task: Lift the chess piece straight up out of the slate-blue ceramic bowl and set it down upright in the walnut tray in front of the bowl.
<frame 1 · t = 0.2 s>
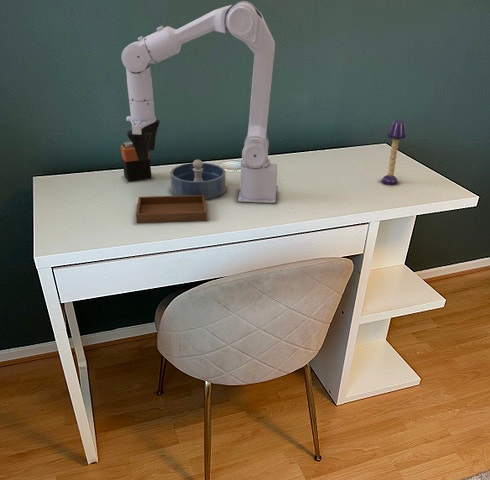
hand: (146, 154, 126), 10 cm above the table, tool pointing down, fingers open, 7 cm apart
chess piece: (198, 189, 133), resting on bowl
toy lamp: (388, 182, 141), on the table
battery: (138, 178, 140), on the table
tray: (172, 212, 121), on the table
bowl: (198, 190, 133), on the table
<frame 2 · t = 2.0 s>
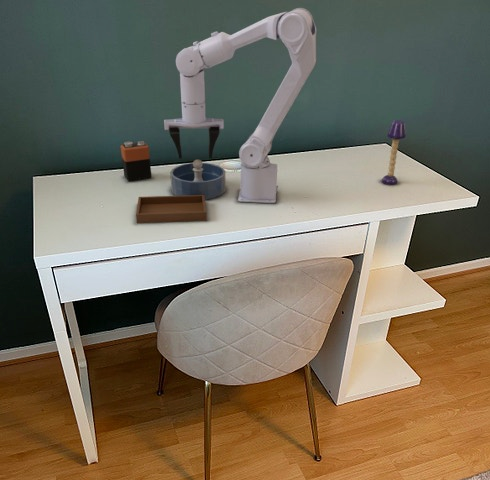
hand: (195, 156, 128), 9 cm above the table, tool pointing down, fingers open, 7 cm apart
nothing on the table moved.
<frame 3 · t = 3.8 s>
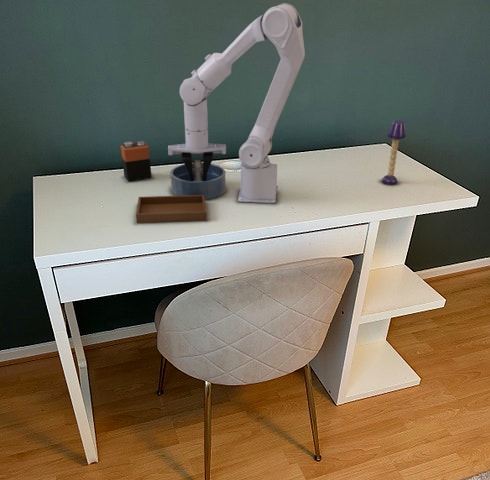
hand: (198, 180, 132), 3 cm above the table, tool pointing down, fingers closed on chess piece, 3 cm apart
chess piece: (198, 189, 133), resting on bowl, touching gripper
everything else where it was.
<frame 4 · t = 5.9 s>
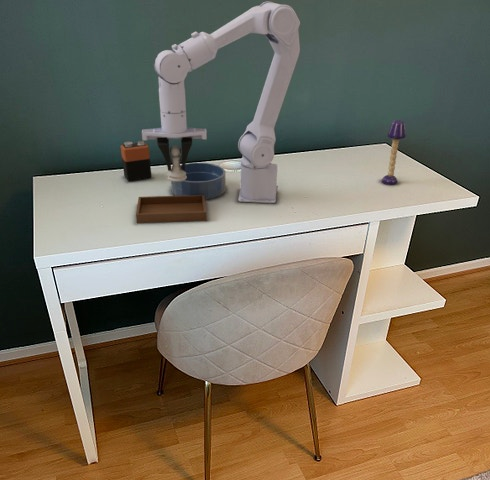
hand: (176, 169, 119), 10 cm above the table, tool pointing down, fingers closed on chess piece, 3 cm apart
chess piece: (177, 179, 121), point 7 cm above the table, touching gripper
everything else where it was.
when the fingers open (3 cm above the table, at t = 8.4 s): chess piece stays where it is, resting on tray.
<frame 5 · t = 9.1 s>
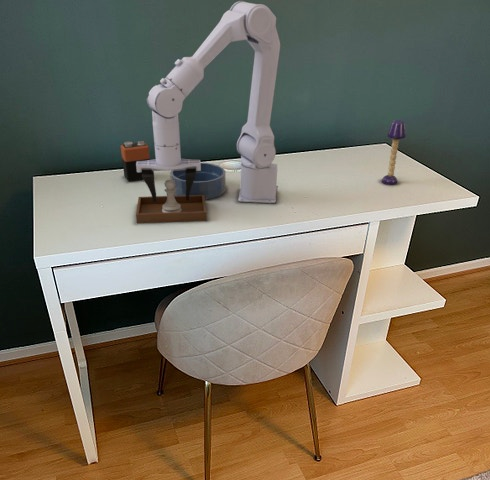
hand: (171, 199, 120), 3 cm above the table, tool pointing down, fingers open, 7 cm apart
chess piece: (171, 211, 121), resting on tray
everything else where it was.
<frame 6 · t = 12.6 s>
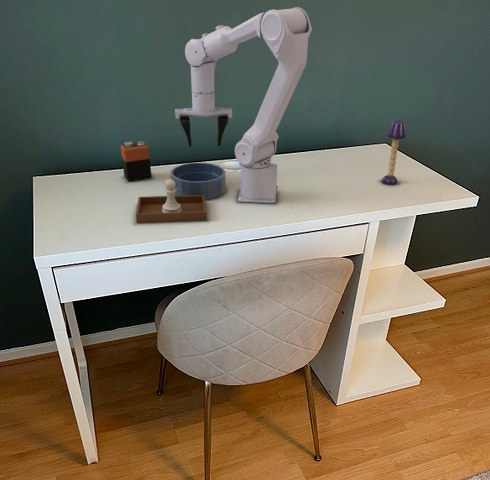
hand: (204, 145, 134), 10 cm above the table, tool pointing down, fingers open, 7 cm apart
nothing on the table moved.
at the end: chess piece inside the target area on the tray (0.0 cm from its centre), point 0.2 cm above the tray's base; chess piece tilted 0°; the gripper is holding nothing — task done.
